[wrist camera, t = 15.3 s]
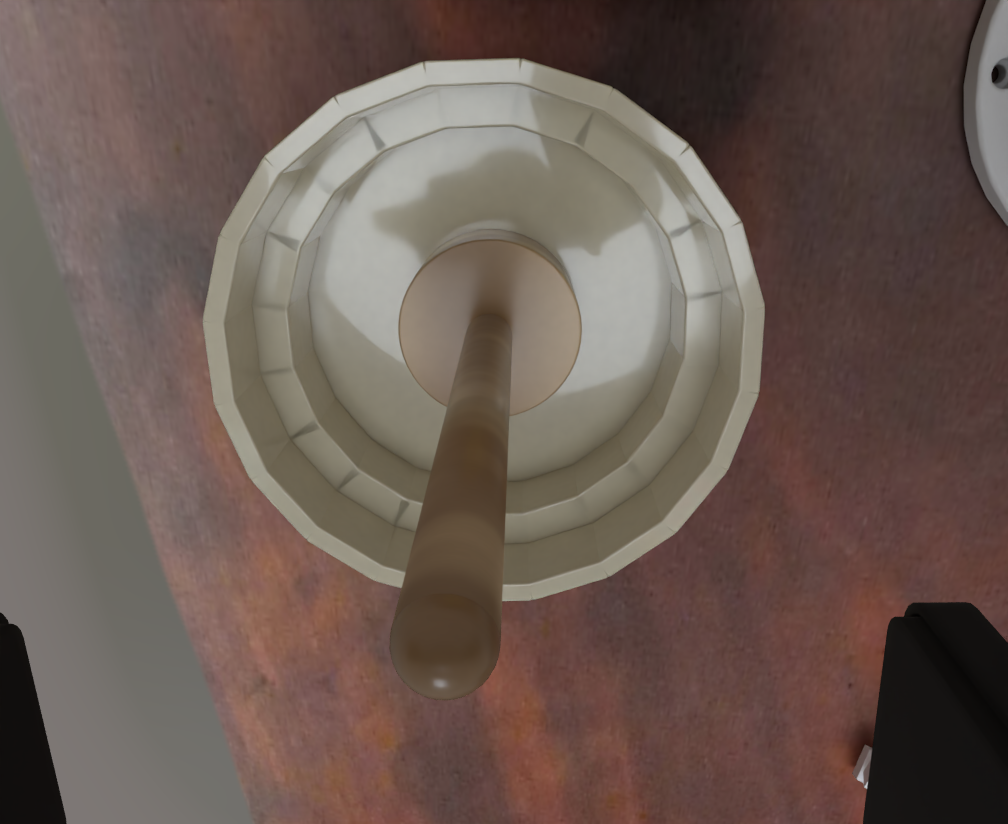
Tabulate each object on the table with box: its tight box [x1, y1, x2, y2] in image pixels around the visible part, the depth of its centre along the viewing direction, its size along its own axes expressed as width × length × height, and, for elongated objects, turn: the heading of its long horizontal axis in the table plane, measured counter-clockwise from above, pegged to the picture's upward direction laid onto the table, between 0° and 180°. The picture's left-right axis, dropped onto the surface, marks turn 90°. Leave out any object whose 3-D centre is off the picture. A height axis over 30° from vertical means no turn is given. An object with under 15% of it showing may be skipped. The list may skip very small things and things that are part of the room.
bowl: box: [203, 58, 765, 601], centre depth 27 cm, size 15×15×6 cm
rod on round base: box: [390, 229, 582, 700], centre depth 20 cm, size 6×6×20 cm
